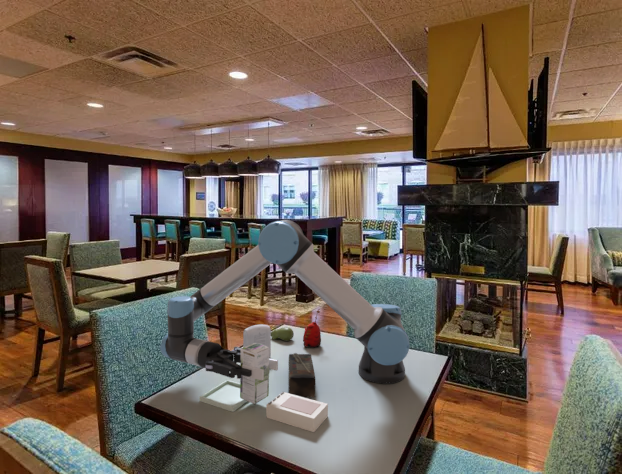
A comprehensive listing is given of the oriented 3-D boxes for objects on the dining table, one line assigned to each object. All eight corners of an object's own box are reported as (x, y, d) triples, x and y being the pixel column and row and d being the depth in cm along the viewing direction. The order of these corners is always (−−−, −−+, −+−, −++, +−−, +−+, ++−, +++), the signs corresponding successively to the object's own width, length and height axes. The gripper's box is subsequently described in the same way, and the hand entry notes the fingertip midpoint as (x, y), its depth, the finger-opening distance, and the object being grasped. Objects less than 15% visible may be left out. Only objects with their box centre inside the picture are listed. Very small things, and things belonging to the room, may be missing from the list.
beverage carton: (311, 370, 132) (311, 351, 131) (316, 398, 113) (316, 376, 112) (288, 370, 131) (288, 351, 131) (288, 399, 112) (288, 377, 111)
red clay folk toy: (305, 341, 158) (305, 305, 157) (322, 342, 157) (323, 306, 156) (301, 348, 151) (301, 310, 150) (319, 349, 150) (319, 311, 148)
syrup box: (254, 390, 112) (254, 341, 111) (269, 396, 109) (269, 346, 108) (239, 398, 108) (239, 347, 106) (255, 405, 104) (255, 352, 103)
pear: (288, 329, 156) (267, 330, 160) (290, 342, 156) (269, 342, 160) (294, 325, 161) (274, 326, 165) (296, 338, 161) (276, 338, 165)
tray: (199, 401, 110) (199, 396, 110) (227, 383, 121) (227, 379, 121) (233, 411, 105) (233, 407, 105) (259, 392, 115) (259, 388, 115)
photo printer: (267, 353, 145) (267, 321, 144) (272, 357, 142) (272, 324, 141) (241, 359, 140) (241, 326, 138) (246, 363, 136) (246, 329, 135)
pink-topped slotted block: (266, 417, 102) (266, 403, 102) (282, 403, 109) (282, 390, 109) (313, 432, 96) (313, 417, 95) (327, 416, 103) (327, 402, 102)
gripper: (226, 355, 124) (288, 370, 114) (181, 378, 108) (248, 399, 97) (226, 332, 124) (288, 345, 113) (180, 352, 107) (248, 369, 96)
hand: (270, 370), depth 105 cm, fingers closed on syrup box, 6 cm apart
